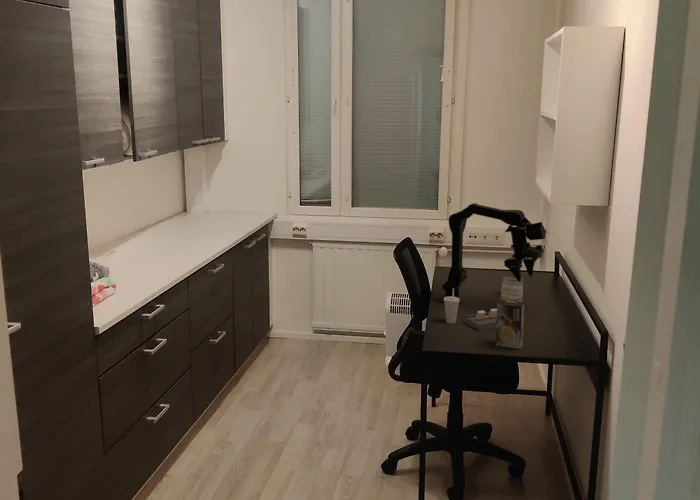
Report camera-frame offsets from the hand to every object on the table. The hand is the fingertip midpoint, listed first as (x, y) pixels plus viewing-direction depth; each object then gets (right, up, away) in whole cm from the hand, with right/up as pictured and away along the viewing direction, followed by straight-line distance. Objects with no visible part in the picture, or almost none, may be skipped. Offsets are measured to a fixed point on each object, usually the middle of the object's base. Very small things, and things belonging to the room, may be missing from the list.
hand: (525, 278), depth 276 cm
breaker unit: (-15, -17, -8) cm, 24 cm away
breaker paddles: (-15, -15, -8) cm, 23 cm away
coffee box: (-14, -23, -30) cm, 40 cm away
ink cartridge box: (-5, -15, +6) cm, 16 cm away
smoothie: (-31, -17, -6) cm, 36 cm away
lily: (0, -9, +28) cm, 29 cm away
